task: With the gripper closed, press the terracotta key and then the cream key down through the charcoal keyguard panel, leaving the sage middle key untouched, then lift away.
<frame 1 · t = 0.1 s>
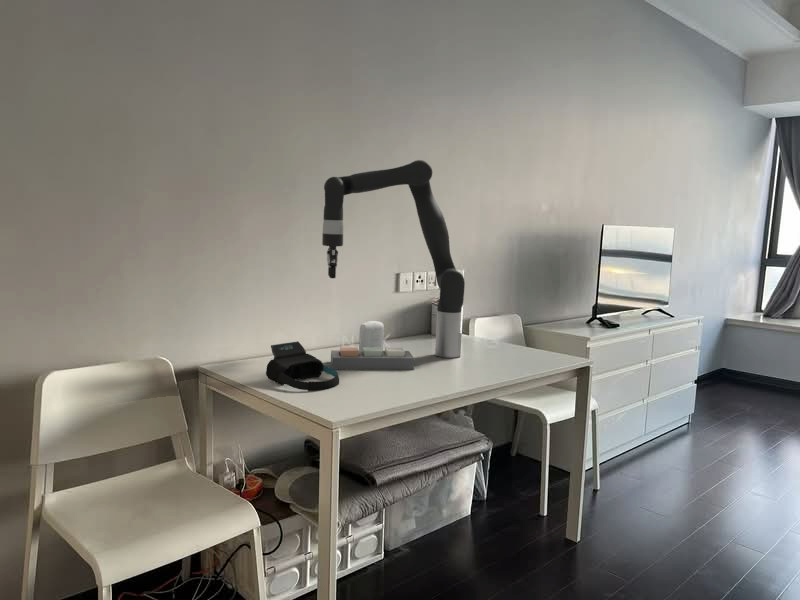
hand: (331, 277, 231), 29 cm above the table, fingers open, 8 cm apart
cream key: (394, 353, 221), point 4 cm above the table, slide at 0.0 cm
keyguard panel: (371, 365, 220), on the table
terracotta key: (349, 352, 218), point 4 cm above the table, slide at 0.0 cm
virtual reality headset: (305, 384, 194), on the table
sage key: (372, 353, 220), point 4 cm above the table, slide at 0.0 cm
photo printer: (371, 353, 241), on the table
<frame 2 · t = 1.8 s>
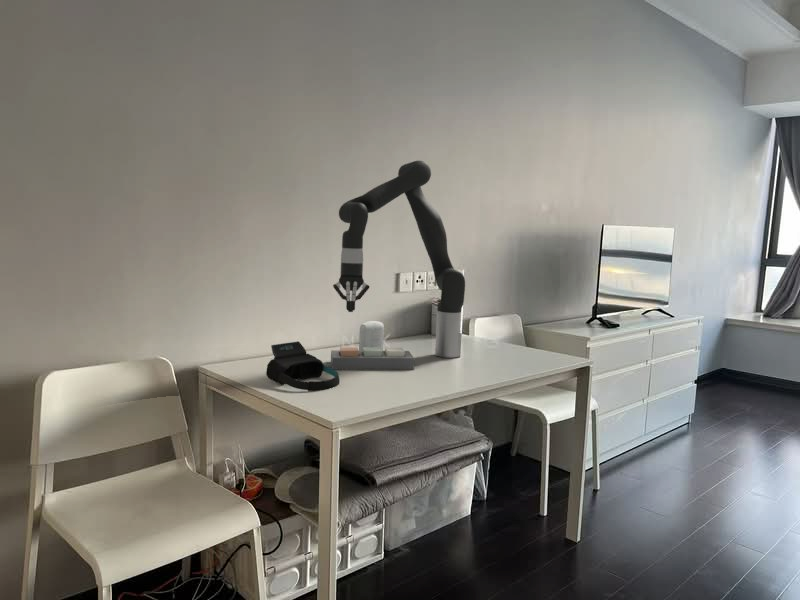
hand: (350, 311, 217), 19 cm above the table, fingers closed
nothing on the table moved.
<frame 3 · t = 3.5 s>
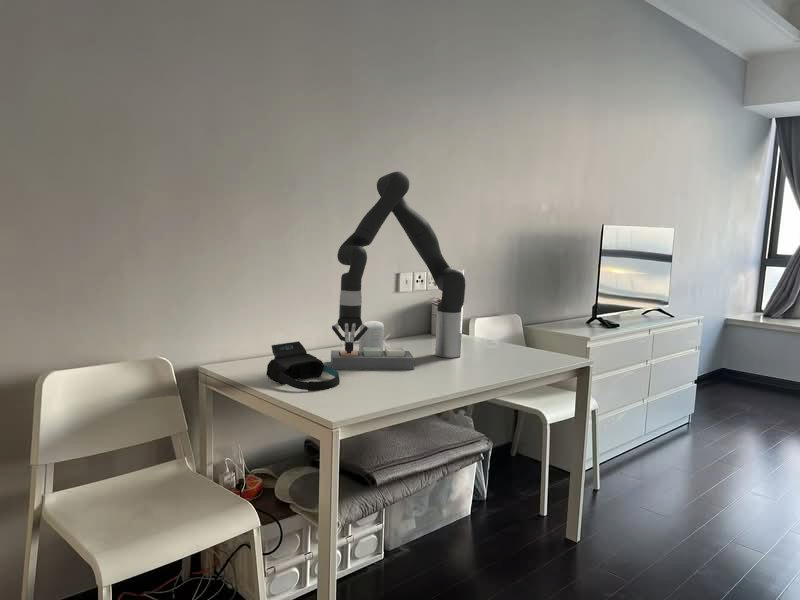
hand: (348, 352, 218), 5 cm above the table, fingers closed
terracotta key: (349, 356, 219), point 3 cm above the table, slide at 1.3 cm, touching gripper
everything else where it was.
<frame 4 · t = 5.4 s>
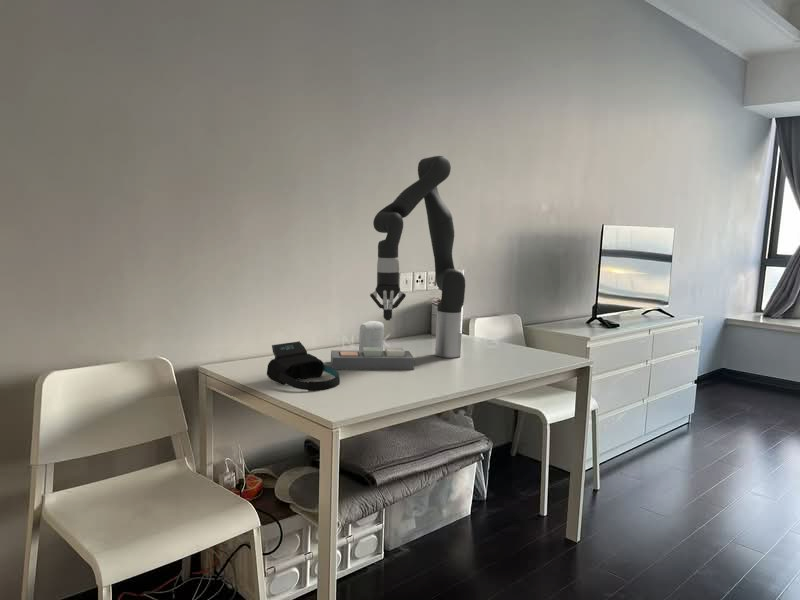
hand: (387, 320, 219), 16 cm above the table, fingers closed
terracotta key: (349, 357, 219), point 3 cm above the table, slide at 1.6 cm
everything else where it was.
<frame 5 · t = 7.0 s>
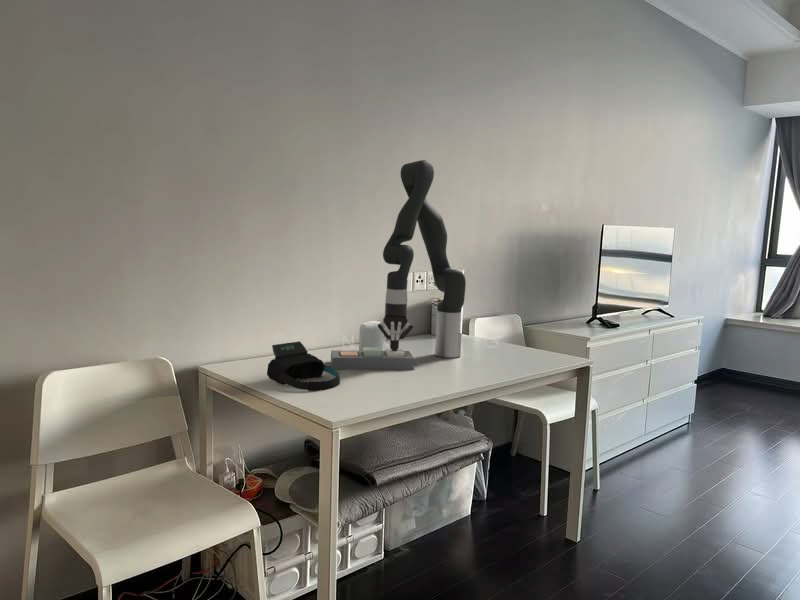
hand: (394, 350, 221), 5 cm above the table, fingers closed
cream key: (394, 354, 221), point 4 cm above the table, slide at 0.5 cm, touching gripper
everything else where it was.
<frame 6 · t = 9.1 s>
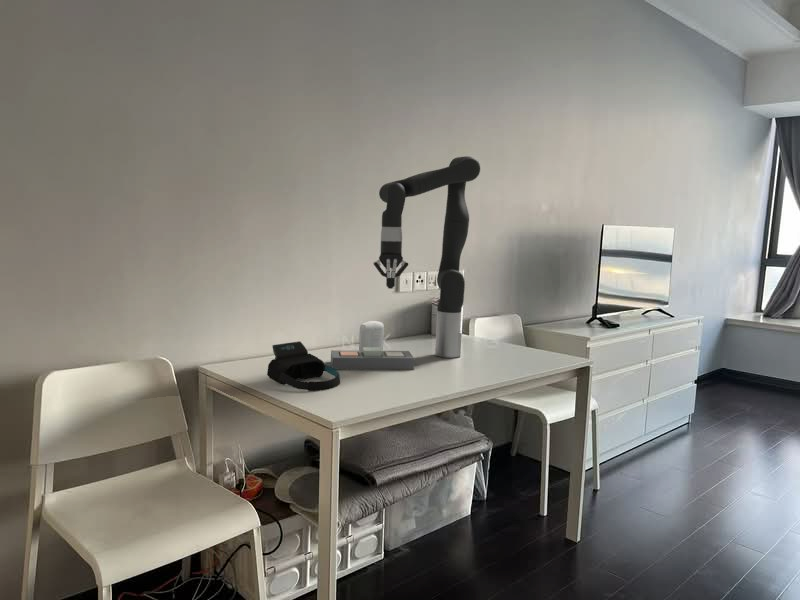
hand: (390, 288, 225), 27 cm above the table, fingers closed
cream key: (394, 357, 221), point 3 cm above the table, slide at 1.6 cm
everything else where it was.
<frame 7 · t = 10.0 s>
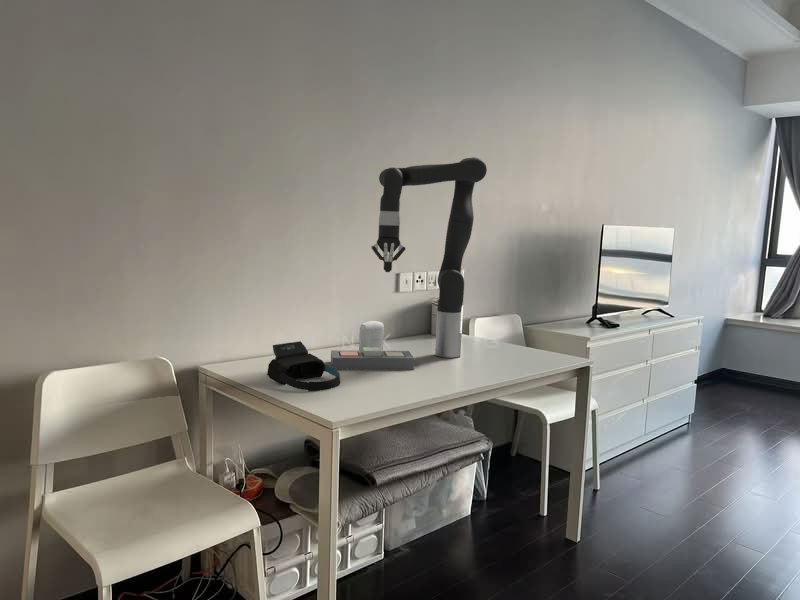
hand: (387, 272, 229), 32 cm above the table, fingers closed
nothing on the table moved.
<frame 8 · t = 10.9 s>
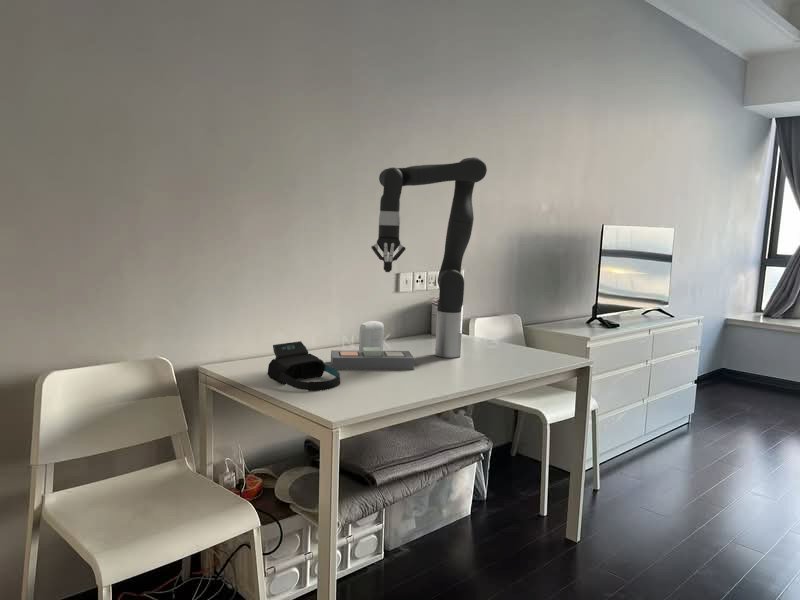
hand: (387, 272, 229), 32 cm above the table, fingers closed
nothing on the table moved.
at the end: terracotta key slide at 1.6 cm; cream key slide at 1.6 cm; sage key slide at 0.0 cm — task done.
